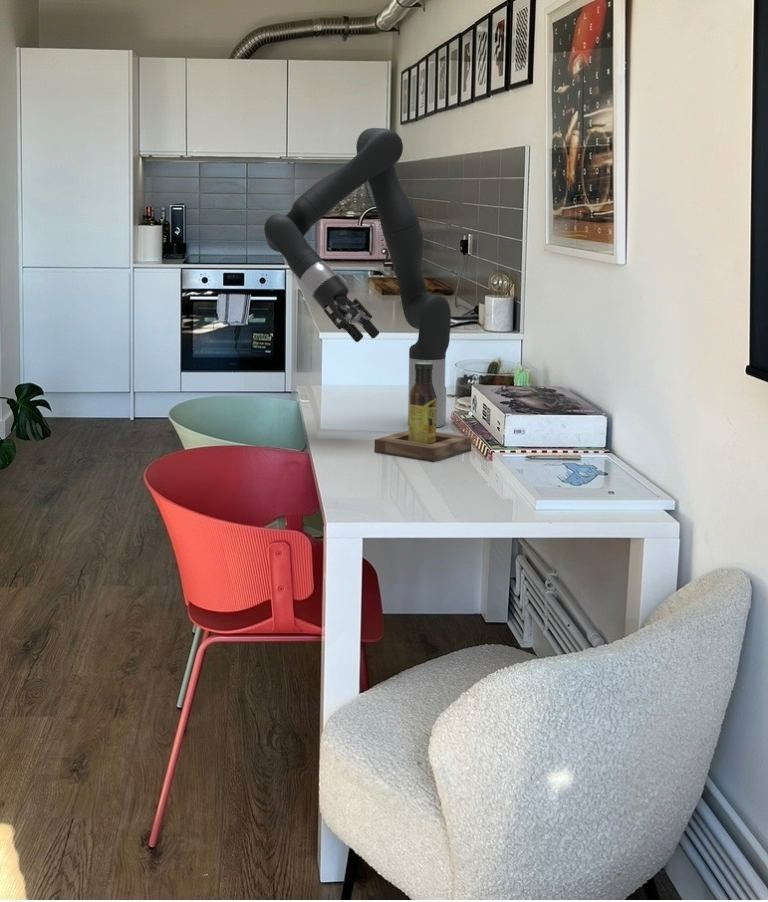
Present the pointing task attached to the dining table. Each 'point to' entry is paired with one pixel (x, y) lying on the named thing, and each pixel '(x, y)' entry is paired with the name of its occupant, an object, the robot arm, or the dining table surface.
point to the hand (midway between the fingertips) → (368, 337)
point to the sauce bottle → (423, 406)
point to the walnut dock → (423, 446)
